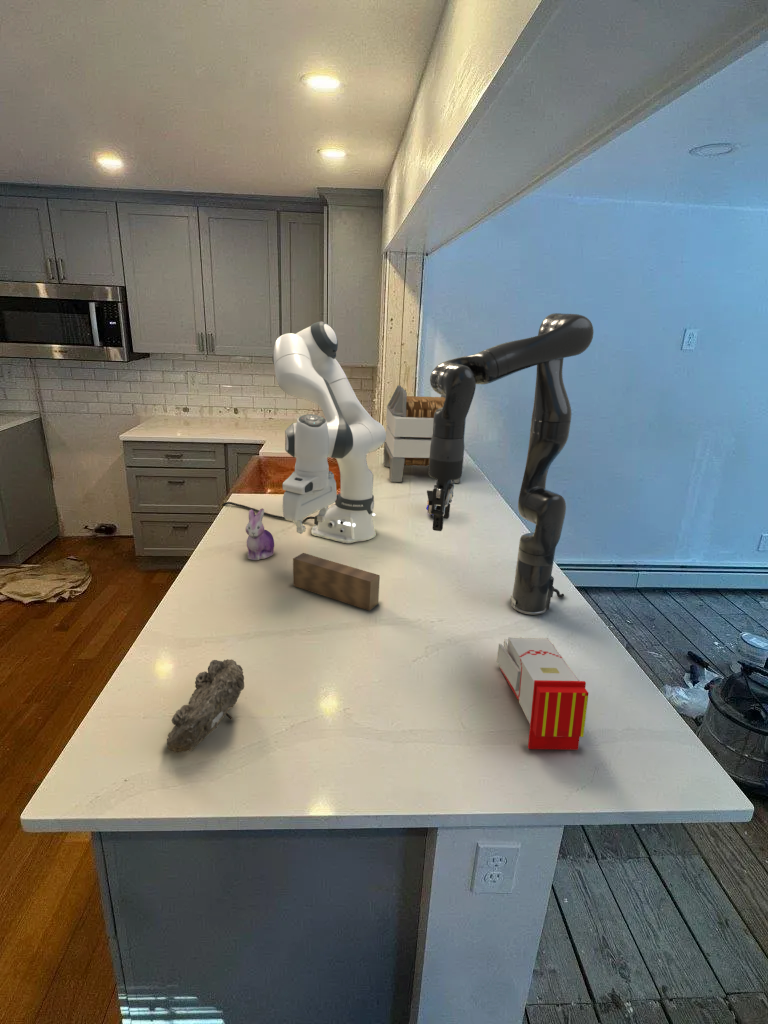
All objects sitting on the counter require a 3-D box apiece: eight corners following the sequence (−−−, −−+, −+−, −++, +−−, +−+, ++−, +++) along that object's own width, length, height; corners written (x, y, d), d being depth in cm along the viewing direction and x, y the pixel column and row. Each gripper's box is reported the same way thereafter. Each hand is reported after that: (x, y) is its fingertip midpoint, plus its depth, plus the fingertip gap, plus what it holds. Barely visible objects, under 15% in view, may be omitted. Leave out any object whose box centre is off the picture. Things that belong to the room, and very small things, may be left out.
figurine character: (444, 523, 215) (440, 506, 228) (446, 505, 211) (442, 489, 225) (427, 523, 215) (424, 505, 228) (428, 505, 211) (425, 488, 225)
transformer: (382, 463, 289) (386, 382, 275) (445, 464, 293) (451, 384, 279) (390, 482, 257) (394, 392, 243) (460, 483, 261) (468, 394, 247)
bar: (293, 585, 160) (292, 558, 157) (303, 579, 164) (303, 552, 161) (369, 610, 148) (370, 581, 146) (378, 603, 152) (379, 575, 149)
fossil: (192, 660, 117) (244, 628, 112) (224, 691, 120) (276, 661, 115) (142, 746, 98) (202, 712, 93) (182, 779, 101) (242, 748, 96)
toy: (545, 621, 128) (598, 688, 99) (540, 675, 131) (589, 757, 102) (492, 620, 128) (529, 687, 98) (488, 674, 131) (522, 756, 101)
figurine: (249, 563, 172) (248, 517, 167) (241, 550, 180) (239, 506, 175) (280, 558, 176) (279, 513, 171) (270, 546, 184) (269, 502, 179)
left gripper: (323, 467, 159) (323, 513, 164) (278, 485, 142) (278, 536, 147) (342, 471, 156) (341, 518, 161) (298, 490, 139) (298, 541, 144)
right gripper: (458, 465, 118) (451, 537, 124) (467, 450, 131) (461, 516, 137) (423, 461, 120) (418, 532, 126) (436, 447, 133) (431, 512, 139)
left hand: (311, 526), depth 154 cm, fingers open, 8 cm apart
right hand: (440, 524), depth 131 cm, fingers open, 8 cm apart
